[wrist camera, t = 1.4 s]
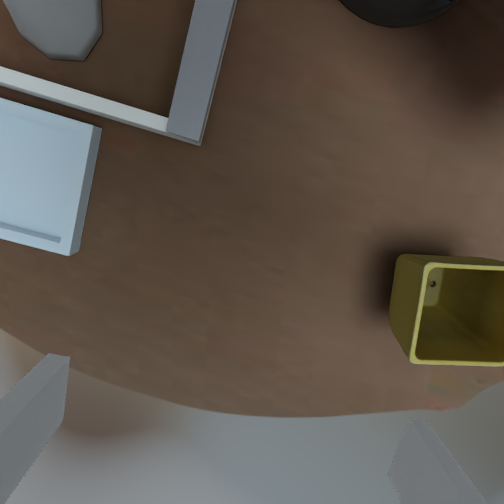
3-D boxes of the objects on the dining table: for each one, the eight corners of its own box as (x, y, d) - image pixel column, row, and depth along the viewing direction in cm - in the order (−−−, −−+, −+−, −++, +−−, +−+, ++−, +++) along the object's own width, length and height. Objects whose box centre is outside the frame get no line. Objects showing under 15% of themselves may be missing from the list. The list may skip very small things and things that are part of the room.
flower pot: (368, 320, 38) (409, 365, 29) (379, 240, 36) (426, 262, 27) (447, 322, 38) (511, 367, 29) (462, 243, 36) (535, 267, 27)
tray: (-34, 87, 31) (-54, 81, 29) (102, 128, 32) (93, 125, 30) (-49, 217, 33) (-67, 220, 31) (78, 251, 34) (69, 256, 32)
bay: (13, -99, 28) (-77, -207, 20) (249, -14, 30) (253, -82, 22) (-10, 83, 31) (-96, 51, 23) (207, 148, 33) (198, 141, 25)
